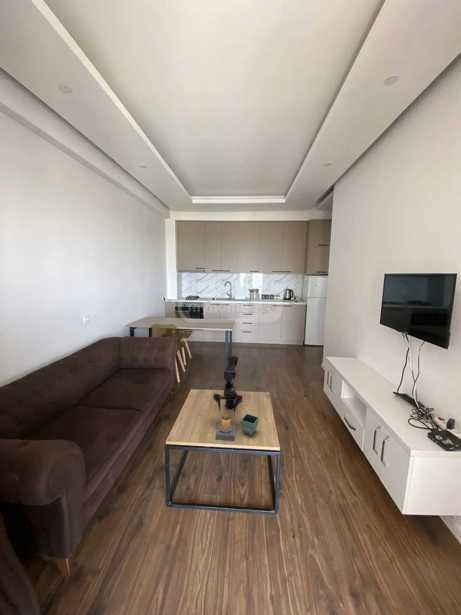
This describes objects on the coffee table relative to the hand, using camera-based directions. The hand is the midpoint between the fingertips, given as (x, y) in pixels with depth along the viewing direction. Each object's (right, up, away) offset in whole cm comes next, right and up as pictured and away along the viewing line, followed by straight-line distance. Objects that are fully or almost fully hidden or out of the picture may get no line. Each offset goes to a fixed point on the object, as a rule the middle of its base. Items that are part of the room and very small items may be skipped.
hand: (227, 411), depth 159 cm
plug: (-1, -12, -4) cm, 13 cm away
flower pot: (+14, -12, -1) cm, 19 cm away
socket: (-1, -12, -4) cm, 13 cm away
